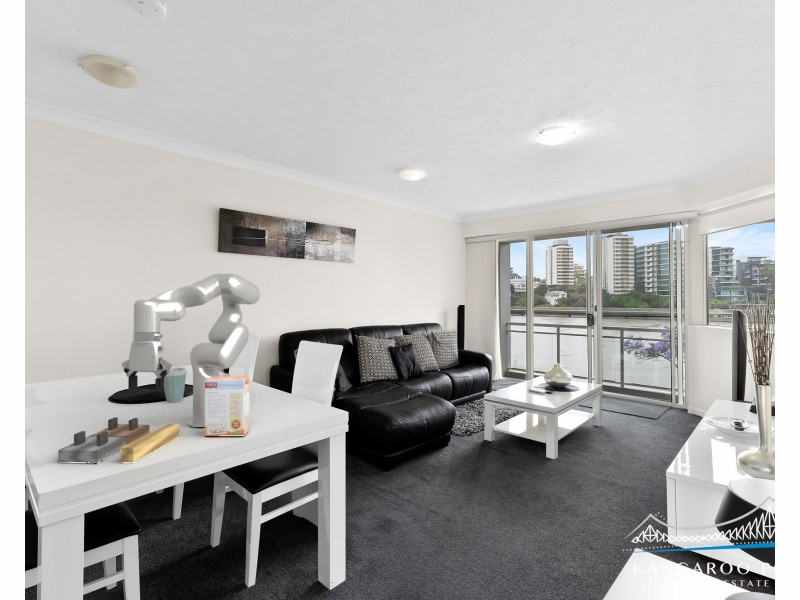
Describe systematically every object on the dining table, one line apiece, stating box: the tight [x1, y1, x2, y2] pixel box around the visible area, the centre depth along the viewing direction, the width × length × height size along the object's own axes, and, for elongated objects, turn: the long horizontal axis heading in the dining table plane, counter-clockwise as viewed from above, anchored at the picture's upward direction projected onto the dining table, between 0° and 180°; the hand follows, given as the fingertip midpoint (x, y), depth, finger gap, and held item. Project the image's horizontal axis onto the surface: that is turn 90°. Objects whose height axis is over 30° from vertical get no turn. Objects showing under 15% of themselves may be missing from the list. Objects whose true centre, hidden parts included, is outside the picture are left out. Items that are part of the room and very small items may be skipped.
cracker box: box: [204, 376, 250, 436], centre depth 147 cm, size 14×6×21 cm, turn 92°
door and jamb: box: [57, 416, 151, 463], centre depth 133 cm, size 12×24×8 cm, turn 178°
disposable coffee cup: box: [163, 367, 188, 403], centre depth 190 cm, size 11×11×15 cm
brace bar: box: [120, 423, 180, 463], centre depth 133 cm, size 4×22×5 cm, turn 175°
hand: (146, 388), depth 134 cm, fingers open, 9 cm apart
